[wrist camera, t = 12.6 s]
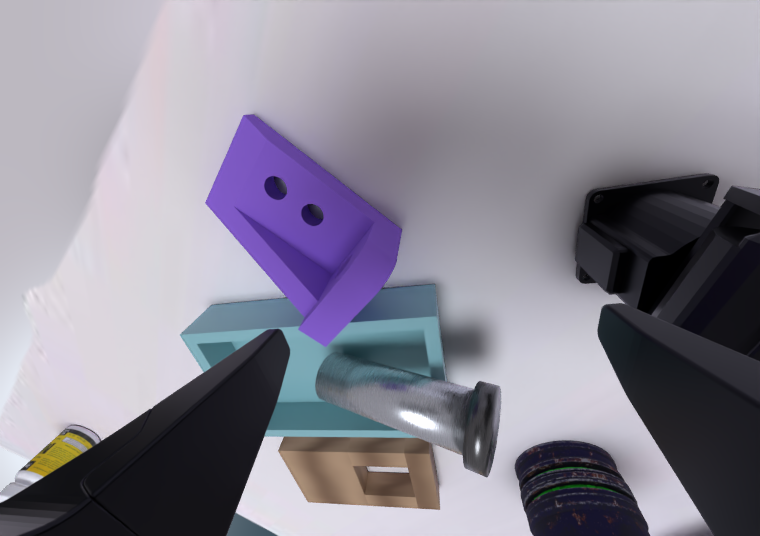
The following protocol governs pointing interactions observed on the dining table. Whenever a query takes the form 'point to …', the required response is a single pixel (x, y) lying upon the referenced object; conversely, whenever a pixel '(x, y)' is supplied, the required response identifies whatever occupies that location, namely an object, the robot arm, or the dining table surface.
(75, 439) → the supplement bottle
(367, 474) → the block
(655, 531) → the dining table surface
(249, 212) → the bracket
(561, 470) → the storage jar
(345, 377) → the pin
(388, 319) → the tray
